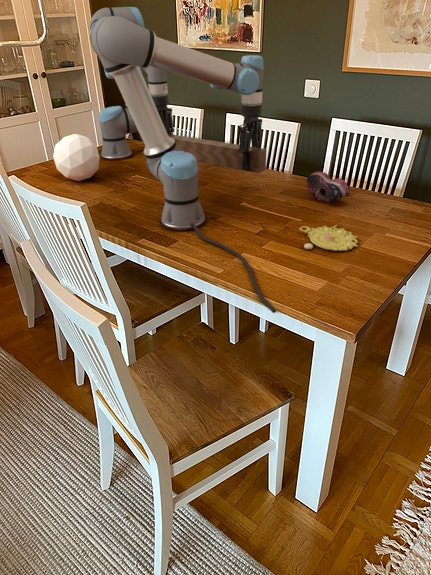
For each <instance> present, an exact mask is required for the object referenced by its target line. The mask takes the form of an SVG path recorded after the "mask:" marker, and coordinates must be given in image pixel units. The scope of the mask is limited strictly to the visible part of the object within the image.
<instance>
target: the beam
mask: <svg viewBox="0 0 431 575" xmlns="http://www.w3.org/2000/svg"><path fill="white" fill-rule="evenodd" d="M167 135H168V136H169V137H171V138H173V139H174V140H175V143H176V145H177V147H178V150H179V151H184V152H188V153H191V154H192V155H194V156H195V158H196V161H197V163H201V164H206V165H212V166H217V167H221V168H227V169H233V170H238V171H239V170H240V171H242V172H243V171H244V172H247V171H246V170H242V162H243V153H240V152H239V144H238V143H237V144H236V143H230V142H222V141H218V140H210V139H204V138H198V137H191V136H185V135H178V134H173V133H172V134H167ZM267 150H268V149H267V148H262V147H261V148H256V147H252V146H250V147H249V153H250V170H249V171H248V172H249V173H254V174H261V173H262V172H264V171H266V170H267Z"/></svg>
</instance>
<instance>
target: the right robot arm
mask: <svg viewBox="0 0 431 575" xmlns="http://www.w3.org/2000/svg"><path fill="white" fill-rule="evenodd" d="M89 42H90V46H91V48H92V50H93V52H94V53H95V54H96V55H97V57H98V58H99V61H100V62H101V64H102V67H103V70H104V69H105V70H104V72H105V71H106V73H107V74H109V75H111V76H113V77H114V79H113V80H114V81H115V83H116V85H117V87H118V89H119V92H120V94H121V96H122V98H123V101H124V102H125V106H126V105H127V107H128V109H129V111H130V114H131V116H132V118H133V120H134V122H135V125H136V127H137V129H138V131H139V132H138V133H139V135H140V137H141V140H142V142H143V144H144V149H143V155H144V157H145V159H146V164H147V168H148V170H149V171H150V173H151V175H152V176H153V177H154V178H156V179H157V180H158V181H159V182H160V183H161V184H162V186H163V194H164V204H163V209H162V213H161V219H160V220H161V225H162V227H163V228H165V229H167V230H170V231H175V232H176V231H177V232H185V231H186V232H187V231H192V230H194V231H195V232H196V233H197V234H198V236H199V237H200V238H201V239H202V240H204V241H205V242H206V243H209V244H212V245H215V246H217V247H219V248H221V249H224V250H226V251H227V252H230V253H232V254H233V255H234V256H236V257H237V258H238V259H239V260H240V261H241V262H242V263H243V265H244V267H245V268H246V269H247V271H248V273H249V277H250V280H251V283H252V284H253V287H254V290H255V293H256V294H257V296H258V298H259V299H260V301H261V302H262V303H263V304H264V305H265V306H266V307H267V308H268V309H269V310H270V311H271V313H272V314H275V313H276V312H277V310H276V309H275V307H274V306H273V305H272V304H271V303H270V302H269V301H268V300H267V299H266V298H265V296H264V295H263V293H262V292H261V289H260V288H259V285H258V283H257V279H256V277H255V276H254V273H253V270H252V268H251V265H249V263H248V262H247V260H246V259H245V258H244V257H243V256H242V255H241V254H240V253H239V252H238V251H236V250H234V249H232V248H231V247H229V246H227V245H224V244H222V243H221V242H218V241H215V240H212V239H209V238H208V237H206V236H205V235H204V234H203V233H202V232H201V230H200V229H199V228H201V227H202V226H203V225H204V224H205V223H206V216H205V212H204V210H203V208H202V204H201V202H200V196H199V175H198V170H199V166H198V162H197V161H196V158H195V156H194V155H192V154H191V153H188V152H184V151H179V150H178V147H177V145H176V143H175V140H174V139H173V138H171V137H169V136H168V135H167V132H166V130H165V128H164V125H163V123H162V120H161V118H160V116H159V113H158V111H157V108H156V106H155V104H154V101H153V99H152V96H151V94H150V92H149V86H148V85H147V84H148V83H147V82H146V79H145V76H143V75H142V72H141V70H140V68H139V66H141V67H144V68H148V67H149V66H154V67H157V68H160V69H163V70H166V72H170V73H174V74H176V75H179V76H183V77H186V78H189V79H193V80H195V81H199V82H202V83H206V84H208V85H209V86H210V88H211V89H213V90H224V89H225V90H228V91H231V92H234V93H237V94H240V98H241V99H240V103H241V105H240V115H241V117H243V123H242V124H239V125H238V130H239V143H238V145H239V152H240V153H243V162H242V170H241V171H243V170H246V171H245V172H249V170H250V153H249V147H256V148H262V147H261V146H262V125H263V119H262V118H259V117H261V116H262V113H263V105H262V103H263V86H264V71H265V68H264V58H263V56H262V55H258V54H257V55H256V54H255V55H254V54H253V55H251V54H250V55H249V54H247V55H243V56H242V57H241V61H240V62H237V63H233V62H231V61H228V60H224V59H222V58H218V57H216V56H213V55H211V54H207V53H204V52H201V51H199V50H196V49H194V48H190V47H187V46H184V45H181V44H178V43H176V42H173V41H170V40H168V39H164V38H161V37H159V36H157V35H156V33H155V31H153V30H150V29H148V28H143V27H141V26H139V25H137V24H135V23H133V22H131V21H129V20H127V19H125V18H123V17H119V16H110V15H107V16H104V17H101V18H100V19H98V20H97V21H95V23H94V24H93V25H92V27H91V30H90V29H89Z"/></svg>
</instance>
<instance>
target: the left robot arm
mask: <svg viewBox="0 0 431 575" xmlns="http://www.w3.org/2000/svg"><path fill="white" fill-rule="evenodd" d="M107 15H110V16H119V17H123V18H125V19H127V20H129V21H131V22H133V23H135V24H137V25H139V26H141V27H143V28H145V23H144V18H143V15H142V13H141V11H140V10H139V9H138V7H135V6H117V7H115V6H114V7H103V8H100V9H98V10H97V11H96V12H95V13H93V15H92V17H91V18H90V21H89V31H90V30H91V27H92V25H93V24H94V23H95V21H97V20H98V19H100V18H101V17H104V16H107ZM145 29H146V28H145ZM139 68H140V70H141V72H142V75H143V77H147V82H148V83H147V84H148V85H147V86H148V89H149V92H150V94H151V96H152V99H153V101H154V104H155V106H156V108H157V111H158V113H159V116H160V118H161V120H162V123H163V125H164V128H165V130H166V132H167V134H172V135H173V133H174V122H173V108H171V107H169V106H168V105H169V101H170V100H169V95H168V94H169V93H168V92H169V91H168V90H169V89H168V75H167V74H168V73H167V70H163V69H160V68H157V67H154V66H149V67H148V68H144V67H141V66H139ZM103 70H104V73H105V76H106V78H107V79H110V80H111V79H113V80H115V79H114V77H113V76H111V75H109V74H107V73H106V71H105V69H104V68H103ZM98 121H99V124H100V131H101V138H102V147H101V148H102V149H101V150H98V154H100V153H101V154H100V155H101V158H102V159H103V160H107V161H120V160H125V159H128V158H130V157H131V156H132V154H133V153H132V149H131V148H130V145H129V143H128V141H127V135H128V134H135V133H139V131H138V129H137V127H136V125H135V122H134V120H133V118H132V116H131V114H130V111H129V109H128V107H127V105H126V104H125V108H123V107H122V106H121V105H116V106H115V105H114V106H108V107H105V108H103V109H101V110H100V111H99V112H98Z"/></svg>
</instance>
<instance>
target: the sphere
mask: <svg viewBox="0 0 431 575" xmlns="http://www.w3.org/2000/svg"><path fill="white" fill-rule="evenodd" d="M98 151H99V150H98V147H97V145H96V144H95V143H94V142H93V141H92V140H91V138H89V137H88V136H85V135H80V134H77V133H73V134H70V135H67V136H63V137H62V138H61V139H60V140H59V141H58V142H57V143H56V144H55V145H54V150H53V157H52V158H53V161H54V164H55V167H56V170H57V171H58V172H59V173H60V174H62V175H63V176H64V177H65V178H66V179H69V180H73V181H77V182H80V181H84V180H87V179H90V178H92V177H93V175H94V174H96V173H97V171H98V170H99V166H100V159H101V158H100V153H98Z"/></svg>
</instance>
